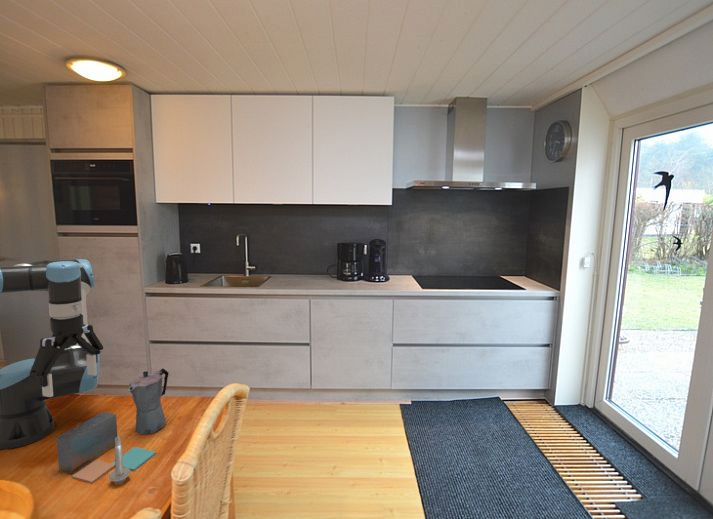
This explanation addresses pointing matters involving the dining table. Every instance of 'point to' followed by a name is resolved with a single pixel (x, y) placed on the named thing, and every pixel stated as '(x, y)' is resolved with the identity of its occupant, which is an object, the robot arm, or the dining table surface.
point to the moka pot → (149, 401)
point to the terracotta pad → (93, 471)
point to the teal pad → (136, 458)
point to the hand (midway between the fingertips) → (71, 384)
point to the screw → (119, 464)
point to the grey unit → (86, 442)
